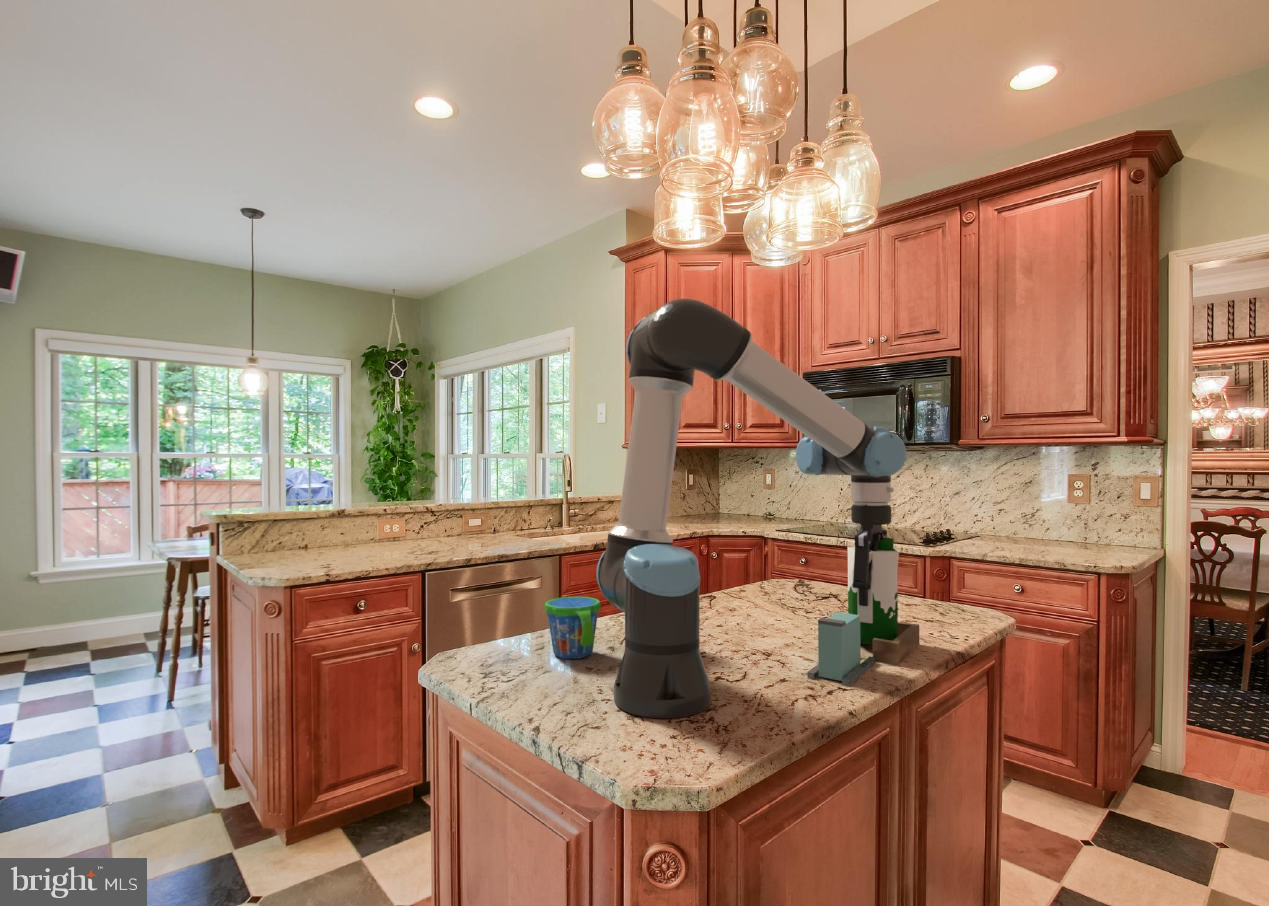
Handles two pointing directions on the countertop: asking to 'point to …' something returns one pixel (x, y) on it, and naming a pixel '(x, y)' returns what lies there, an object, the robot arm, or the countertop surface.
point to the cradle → (897, 644)
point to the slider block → (838, 645)
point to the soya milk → (878, 592)
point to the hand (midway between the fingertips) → (871, 617)
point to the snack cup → (572, 625)
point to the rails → (852, 676)
